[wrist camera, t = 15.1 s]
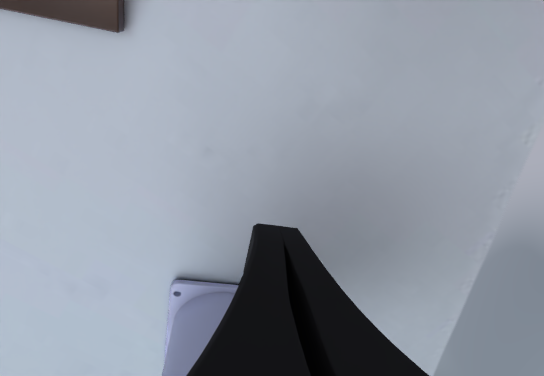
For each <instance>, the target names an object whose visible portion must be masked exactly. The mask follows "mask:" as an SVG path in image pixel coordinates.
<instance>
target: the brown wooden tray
mask: <svg viewBox="0 0 544 376" xmlns="http://www.w3.org/2000/svg"><path fill="white" fill-rule="evenodd" d="M0 9H4V10H9V11H14V12H19V13H24V14H29V15H34V16H39V17H43V18H48V19H53V20H58V21H63V22H68V23H73V24H78V25H83V26H88V27H93V28H97V29H102V30H107V31H112V32H117V33H118V32H121V31H124V0H0Z"/></svg>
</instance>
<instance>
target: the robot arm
mask: <svg viewBox="0 0 544 376" xmlns="http://www.w3.org/2000/svg"><path fill="white" fill-rule="evenodd" d="M176 291H179V292H176ZM162 376H429V375H428V374H427V373H425V372H424V371H423V370H422V369H421V368H419V367H418V366H417V365H416V364H415V363H414V362H413V361H412V360H410V359H409V358H408V357H407V356H406V355H405V354H404V353H403V352H401V351H400V350H399V349H398V348H397V347H396V346H395V345H394V344H393V343H392V342H391V341H390V340H388V339H387V338H386V337H385V336H384V335H383V334H382V333H381V332H380V331H379V330H378V329H377V328H376V327H375V326H374V325H373V323H372V322H371V321H370V320H369V319H368V318H367V317H366V316H365V315H364V314H363V313H362V312H361V311H360V310H359V309H358V308H357V306H356V305H355V304H354V303H353V302H352V301H351V299H350V298H349V297H348V296H347V295H346V294H345V292H344V291H343V290H342V289H341V288H340V286H339V285H338V284H337V283H336V281H335V280H334V279H333V277H332V276H331V275H330V274H329V272H328V271H327V270H326V268H325V267H324V266H323V264H322V263H321V261H320V260H319V259H318V257H317V256H316V254H315V253H314V251H313V250H312V249H311V247H310V246H309V244H308V243H307V241H306V240H305V238H304V237H303V236H302V234H301V233H300V231H299V230H298V228H291V227H283V226H275V225H267V224H256V225H255V226H253V231H252V235H251V240H250V244H249V249H248V254H247V258H246V263H245V267H244V273H243V276H242V279H241V281H240V283H239V285H231V284H221V283H210V282H199V281H188V280H174V281H173V282H172V283H171V287H170V298H169V310H168V323H167V336H166V348H165V361H164V367H163V372H162Z"/></svg>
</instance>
